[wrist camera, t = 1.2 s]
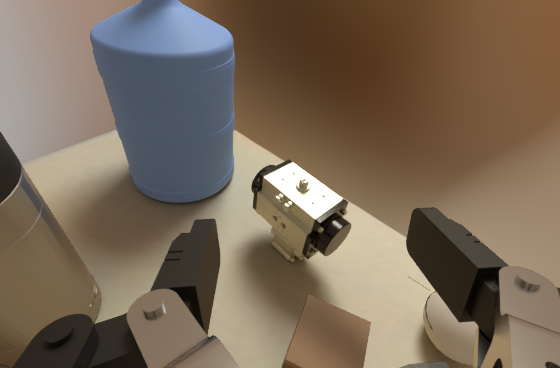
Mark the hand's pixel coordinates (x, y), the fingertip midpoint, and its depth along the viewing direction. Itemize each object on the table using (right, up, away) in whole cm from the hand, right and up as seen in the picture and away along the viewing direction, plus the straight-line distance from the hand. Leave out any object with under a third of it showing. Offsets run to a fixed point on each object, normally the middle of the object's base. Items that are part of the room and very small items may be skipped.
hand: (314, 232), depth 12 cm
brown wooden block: (+1, -17, +15) cm, 23 cm away
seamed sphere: (+16, -14, +21) cm, 30 cm away
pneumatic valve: (-1, -7, +26) cm, 27 cm away
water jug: (-17, +4, +35) cm, 39 cm away
